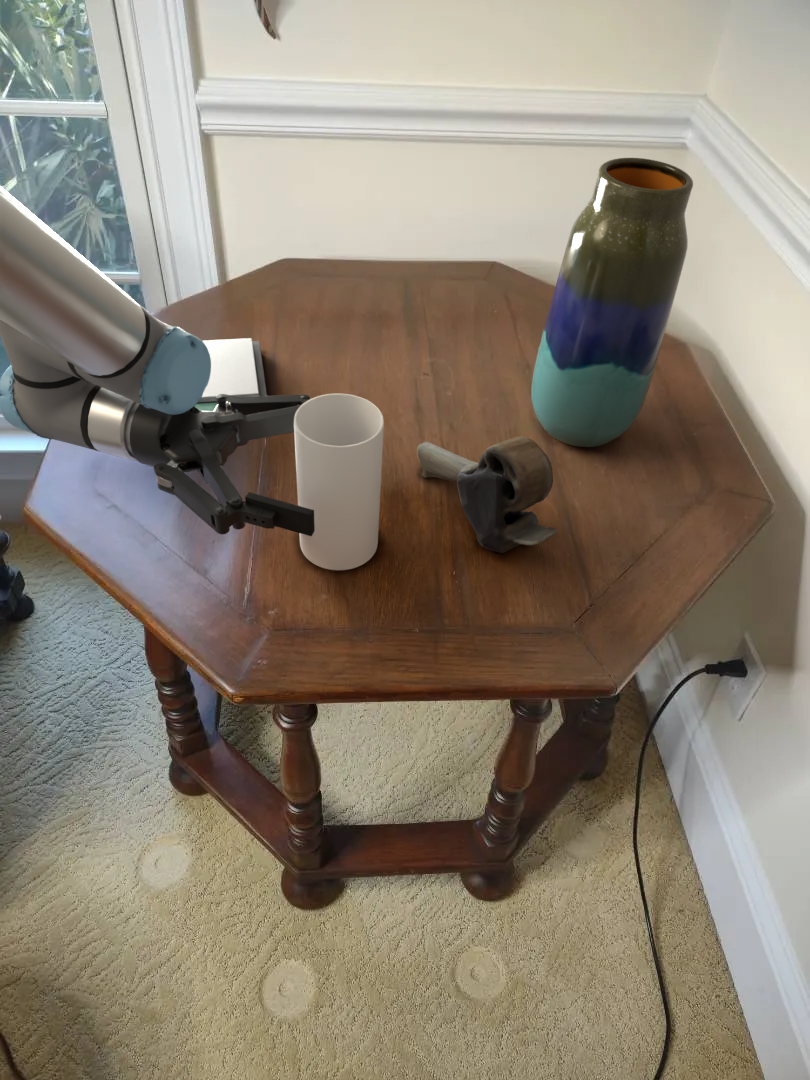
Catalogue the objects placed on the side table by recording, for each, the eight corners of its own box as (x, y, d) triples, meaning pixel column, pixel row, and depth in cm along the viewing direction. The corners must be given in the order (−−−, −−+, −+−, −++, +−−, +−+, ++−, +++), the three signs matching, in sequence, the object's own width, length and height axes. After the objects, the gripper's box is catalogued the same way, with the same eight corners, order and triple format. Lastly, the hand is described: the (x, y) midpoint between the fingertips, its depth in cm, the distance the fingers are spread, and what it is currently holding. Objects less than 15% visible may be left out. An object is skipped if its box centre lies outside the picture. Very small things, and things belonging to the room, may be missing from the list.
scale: (143, 437, 91) (139, 418, 89) (147, 359, 103) (143, 341, 101) (270, 428, 94) (269, 409, 92) (260, 353, 106) (259, 335, 104)
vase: (539, 464, 92) (603, 201, 70) (511, 397, 102) (559, 147, 80) (647, 459, 94) (742, 201, 72) (610, 394, 104) (683, 149, 82)
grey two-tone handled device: (402, 471, 90) (407, 387, 82) (442, 454, 93) (450, 371, 84) (519, 582, 79) (538, 498, 70) (560, 559, 81) (584, 475, 73)
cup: (393, 542, 82) (402, 420, 70) (337, 583, 77) (337, 459, 66) (340, 504, 85) (340, 382, 74) (283, 540, 81) (274, 417, 69)
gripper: (210, 393, 90) (380, 436, 86) (83, 532, 73) (289, 593, 69) (202, 336, 85) (383, 379, 81) (63, 472, 68) (285, 535, 64)
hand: (340, 478), depth 75 cm, fingers open, 13 cm apart
